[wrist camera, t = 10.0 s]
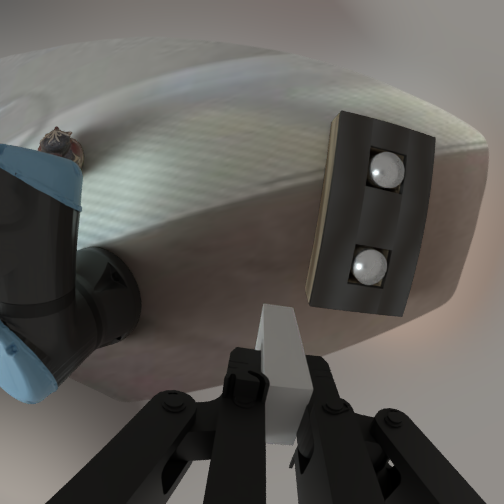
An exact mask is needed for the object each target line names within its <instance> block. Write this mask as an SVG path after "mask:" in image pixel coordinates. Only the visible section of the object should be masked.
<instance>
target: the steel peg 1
mask: <svg viewBox="0 0 504 504" xmlns="http://www.w3.org/2000/svg"><path fill="white" fill-rule="evenodd" d="M403 178H404V165H403V163H402V161H401V159H400V158H399V157H398V156H397V155H395V154H394V153H391V152H382V153H379V154H376V155H373V156H370V157H369V164H368V172H367V179H366V186H367V187H372V188H394V187H396V186H398V185H399V184H400V183H401V182H402V180H403Z"/></svg>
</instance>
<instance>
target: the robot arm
mask: <svg viewBox="0 0 504 504" xmlns="http://www.w3.org/2000/svg"><path fill="white" fill-rule="evenodd" d="M82 182H83V175H82V171H81V169H80V167H79V166H78V165H77V164H76V163H75V162H74V161H72V160H69V159H66V158H63V157H59V156H56V155H52V154H48V153H44V152H40V151H36V150H32V149H27V148H23V147H18V146H13V145H7V144H0V387H1V388H2V389H4V390H5V391H6V392H7V393H8V394H10V395H11V396H12V397H14V398H16V399H17V400H19V401H21V402H24V403H27V404H36V403H39V402H41V401H42V400H44V399H45V398H46V397H47V396H48V395H49V394H51V393H52V392H55V391H56V390H57V389H58V387H59V386H60V385H61V384H62V383H63V382H64V381H65V380H66V379H67V377H69V375H70V374H71V373H72V372H73V371H74V370H75V369H76V368H77V367H78V366H79V365H80V364H81V363H82V362H83V361H84V360H85V359H86V358H87V357H88V356H89V355H90V354H91V353H92V352H93V351H94V350H96V349H98V348H102V347H105V346H108V345H111V344H115V343H117V342H119V341H121V340H123V339H124V338H125V337H126V336H127V335H128V334H129V333H130V332H131V331H132V330H133V329H134V328H135V326H136V324H137V322H138V320H139V317H140V312H141V298H140V293H139V289H138V286H137V283H136V281H135V279H134V277H133V275H132V273H131V272H130V270H129V269H128V267H127V266H126V265H125V264H124V263H123V262H122V261H121V260H120V259H119V258H118V257H117V256H116V255H114V254H113V253H111V252H109V251H107V250H105V249H102V248H97V247H88V248H84V249H81V250H78V251H77V238H78V227H79V218H80V212H82V207H81V192H82ZM330 371H331V370H330V368H329V365H328V363H327V362H326V361H325V360H324V359H323V358H322V357H321V356H312V355H305V353H304V348H303V344H302V340H301V336H300V332H299V328H298V324H297V320H296V316H295V313H294V309H293V308H292V307H285V306H278V305H271V304H264V303H263V309H262V314H261V320H260V325H259V330H258V336H257V341H256V347H255V350H254V349H247V348H240V347H236V348H235V349H234V350H233V351H232V352H231V353H230V358H229V364H228V369H227V374H226V376H225V378H224V385H223V393H222V395H221V396H220V397H218V398H217V399H215V400H212V401H208V402H195V400H194V399H193V398H192V397H191V396H190V395H188V394H186V393H184V392H180V391H176V390H167V391H163V392H160V393H158V394H157V395H155V396H154V397H153V398H152V399H151V400H150V401H149V402H148V403H147V404H146V405H145V406H144V407H143V408H142V409H141V410H140V411H139V412H138V413H137V414H136V416H134V418H132V419H131V420H130V421H129V423H128V424H127V425H126V426H125V427H124V428H123V429H122V430H121V431H120V432H119V433H118V434H117V435H116V436H115V437H114V438H113V439H112V440H111V441H110V442H109V443H108V444H107V445H106V446H105V447H104V448H103V449H102V450H101V451H100V452H99V453H98V454H96V456H94V457H93V458H92V459H91V460H90V461H89V463H87V464H86V465H85V466H84V467H83V468H82V469H81V470H80V471H79V472H78V473H77V474H76V475H75V476H74V477H73V478H72V479H71V480H70V481H69V482H68V483H67V484H66V485H64V486H63V487H62V488H61V489H60V490H59V491H58V492H57V493H56V494H55V495H54V496H53V497H52V498H51V499H50V500H49V501H47V502H46V503H45V504H166V502H167V501H168V499H169V498H170V496H171V495H172V493H173V492H174V490H175V489H176V487H177V486H178V484H179V483H180V481H181V479H182V478H183V476H184V475H185V473H186V472H187V470H188V468H189V467H190V465H191V464H192V461H195V460H209V459H211V461H210V467H209V472H208V478H207V484H206V490H205V495H204V501H203V504H266V446H265V445H266V443H268V444H281V445H293V444H294V441H295V439H296V436H297V443H298V446H297V448H296V450H295V453H294V455H293V457H292V460H291V462H290V465H289V468H292V467H293V465H294V463H295V470H296V481H297V492H298V503H299V504H486V503H485V502H484V501H483V499H481V497H480V496H479V495H478V494H477V493H476V492H475V490H474V489H473V488H472V487H471V486H470V485H469V484H468V483H467V481H466V480H465V479H464V478H463V477H462V476H461V475H460V474H459V473H458V471H457V470H456V469H455V468H454V467H453V466H452V465H451V464H450V463H449V461H448V460H447V459H446V458H445V457H444V456H443V455H442V454H441V452H440V451H439V450H438V449H437V448H436V447H435V446H434V445H433V444H432V442H431V441H430V440H429V439H428V438H427V437H426V436H425V435H424V434H423V432H422V431H421V430H420V429H419V428H418V427H417V426H416V425H415V424H414V423H413V421H412V420H411V419H410V418H409V417H408V416H407V415H406V414H404V413H403V412H401V411H399V410H397V409H391V408H387V409H382V410H380V411H378V413H377V414H376V415H375V417H369V416H365V415H360V414H357V413H354V411H353V408H352V407H351V405H350V404H349V403H348V402H347V401H345V400H344V399H341V398H340V396H339V394H338V391H337V388H336V385H335V382H334V379H333V376H332V374H331V372H330ZM389 460H391V461H392V463H393V464H394V466H393V467H392V466H390V465H389V463H388V462H389Z"/></svg>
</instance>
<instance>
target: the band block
mask: <svg viewBox="0 0 504 504" xmlns="http://www.w3.org/2000/svg"><path fill="white" fill-rule="evenodd" d="M435 140H436V138H435V137H432V136H429V135H426V134H423V133H420V132H418V131H414V130H411V129H408V128H405V127H402V126H399V125H395V124H392V123H388V122H385V121H381V120H378V119H374V118H370V117H366V116H362V115H358V114H354V113H350V112H345V111H341V112H340V113H339V114H338V115H337V116H336V118H335V119H334V120H333V121H332V122H331V130H330V138H329V146H328V154H327V161H326V168H325V175H324V182H323V189H322V195H321V202H320V208H319V214H318V220H317V226H316V232H315V238H314V243H313V249H312V254H311V260H310V265H309V270H308V275H307V281H306V286H305V292H306V295H307V298H308V302H309V305H310V306H312V307H320V308H327V309H335V310H343V311H352V312H360V313H369V314H379V315H388V316H398V317H402V316H403V313H404V310H405V306H406V303H407V299H408V296H409V292H410V289H411V285H412V281H413V277H414V273H415V269H416V265H417V261H418V257H419V252H420V248H421V243H422V238H423V233H424V228H425V222H426V216H427V210H428V204H429V197H430V190H431V182H432V174H433V164H434V153H435ZM382 152H391V153H394V154H395V155H397V156H398V157H399V158H400V159H401V161H402V163H403V165H404V178H403V180H402V182H401V183H400V184H399V185H398V186H396V187H394V188H385V190H381V189H376V188H372V187H367V186H366V179H367V172H368V164H369V156H370V155H372V156H373V155H376V154H379V153H382ZM355 244H359V245H364V246H370V247H374V249H375V250H377V251H378V252H380V253H381V254H382V255H383V256H384V257H385V259H386V262H387V270H386V273H385V275H384V277H383V278H382V279H381V280H380V281H379V282H378V283H376V284H373V285H365V284H363V283H361V282H359V281H358V279H357V278H356V277H355V276H354V275H353V274H352V273H351V272H350V268H351V264H352V259H353V254H354V249H355Z"/></svg>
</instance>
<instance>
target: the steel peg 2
mask: <svg viewBox="0 0 504 504" xmlns="http://www.w3.org/2000/svg"><path fill="white" fill-rule="evenodd" d="M386 270H387V262H386V259H385V257H384V256H383V255H382V254H381V253H380V252H378V251H377V250H375V249H374V248H372V247H370V246H364V245H359V244H355V249H354V254H353V259H352V264H351V268H350V272H351V273H352V274H353V275H354V276H355V277H356V278H357V279H358V281H359V282H361V283H363V284H365V285H373V284H376V283H378V282H379V281H380V280H381V279H382V278H383V277H384V275H385V273H386Z"/></svg>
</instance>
